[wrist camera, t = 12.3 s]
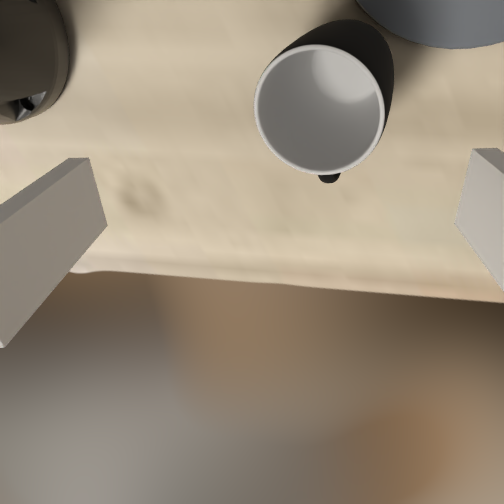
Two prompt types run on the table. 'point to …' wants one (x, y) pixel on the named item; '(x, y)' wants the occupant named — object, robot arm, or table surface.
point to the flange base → (441, 21)
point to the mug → (326, 98)
